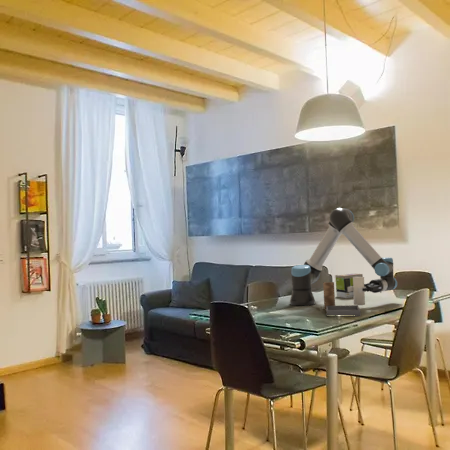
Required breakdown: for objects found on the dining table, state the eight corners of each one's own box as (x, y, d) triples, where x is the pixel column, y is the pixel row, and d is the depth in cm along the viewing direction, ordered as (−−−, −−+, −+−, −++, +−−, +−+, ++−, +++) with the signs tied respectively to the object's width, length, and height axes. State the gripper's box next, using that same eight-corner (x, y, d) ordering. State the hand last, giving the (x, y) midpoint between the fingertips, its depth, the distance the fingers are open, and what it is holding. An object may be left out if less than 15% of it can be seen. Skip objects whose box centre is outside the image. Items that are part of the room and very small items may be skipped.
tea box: (355, 294, 336) (354, 272, 336) (364, 296, 326) (363, 273, 327) (336, 296, 330) (335, 274, 330) (344, 298, 321) (343, 275, 321)
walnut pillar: (324, 309, 279) (323, 283, 280) (324, 308, 285) (323, 282, 286) (335, 309, 278) (334, 282, 279) (335, 308, 284) (333, 281, 284)
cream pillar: (354, 305, 274) (353, 277, 275) (353, 303, 280) (352, 276, 280) (365, 305, 273) (364, 277, 273) (364, 303, 279) (363, 276, 279)
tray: (326, 316, 258) (326, 310, 258) (326, 311, 275) (326, 305, 275) (360, 316, 255) (360, 310, 255) (358, 310, 272) (357, 305, 272)
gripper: (392, 293, 281) (368, 298, 266) (364, 291, 296) (339, 295, 281) (392, 280, 281) (367, 284, 266) (363, 278, 296) (338, 281, 281)
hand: (353, 289), depth 274 cm, fingers closed on cream pillar, 6 cm apart
